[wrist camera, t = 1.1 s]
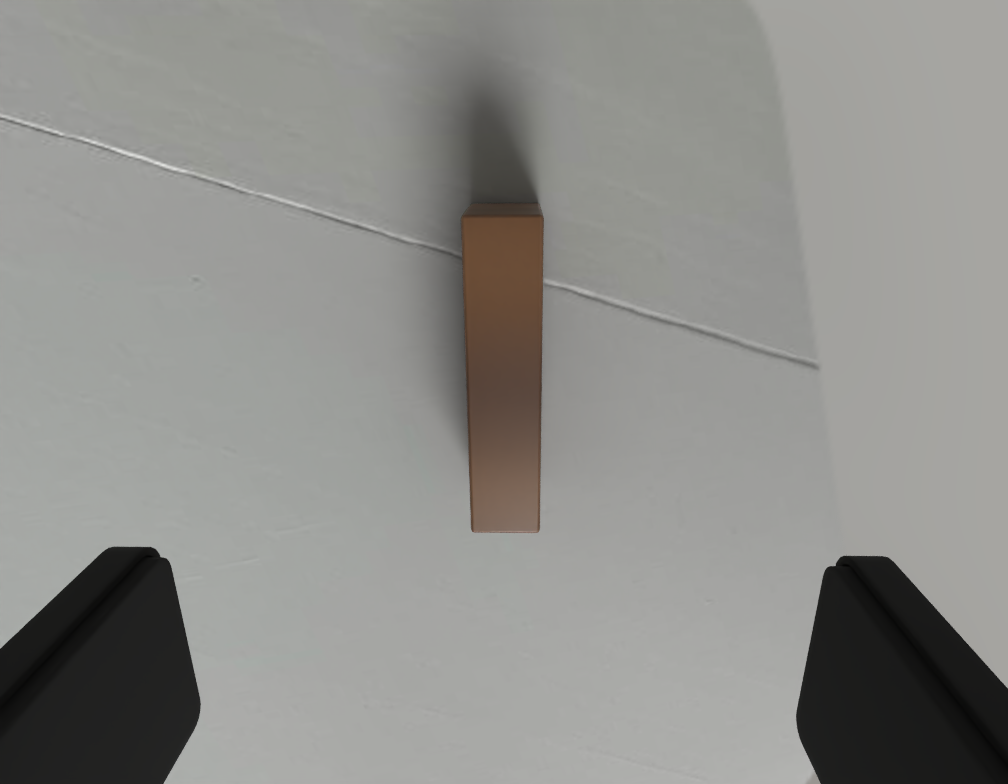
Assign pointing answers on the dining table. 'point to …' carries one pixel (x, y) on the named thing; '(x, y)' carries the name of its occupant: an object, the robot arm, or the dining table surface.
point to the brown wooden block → (503, 363)
